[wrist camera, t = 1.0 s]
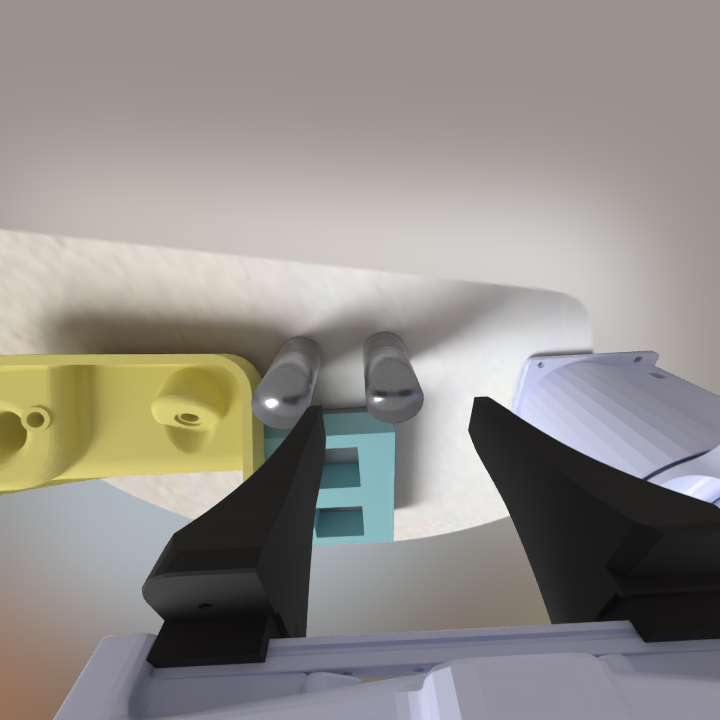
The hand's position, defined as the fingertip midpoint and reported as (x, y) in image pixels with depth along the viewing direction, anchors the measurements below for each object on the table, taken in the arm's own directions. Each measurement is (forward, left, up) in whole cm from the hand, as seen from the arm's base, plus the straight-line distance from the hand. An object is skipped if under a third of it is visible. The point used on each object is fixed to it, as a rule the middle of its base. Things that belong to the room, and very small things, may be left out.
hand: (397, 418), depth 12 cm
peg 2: (0, 0, -7) cm, 7 cm away
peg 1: (+6, 0, -7) cm, 9 cm away
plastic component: (+18, +3, -7) cm, 20 cm away
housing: (+4, +12, -7) cm, 15 cm away
